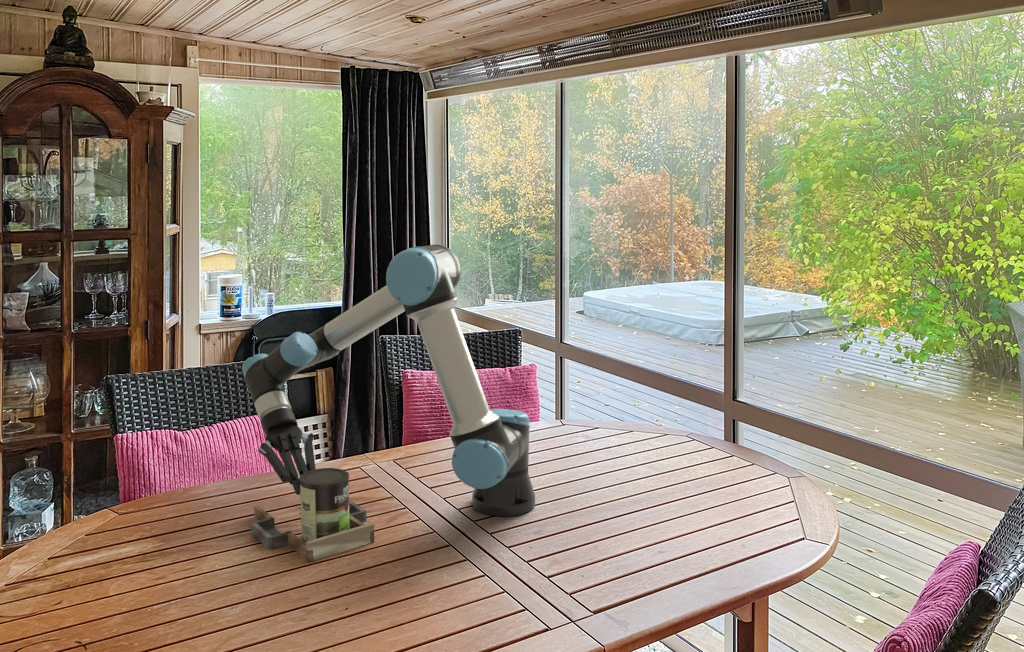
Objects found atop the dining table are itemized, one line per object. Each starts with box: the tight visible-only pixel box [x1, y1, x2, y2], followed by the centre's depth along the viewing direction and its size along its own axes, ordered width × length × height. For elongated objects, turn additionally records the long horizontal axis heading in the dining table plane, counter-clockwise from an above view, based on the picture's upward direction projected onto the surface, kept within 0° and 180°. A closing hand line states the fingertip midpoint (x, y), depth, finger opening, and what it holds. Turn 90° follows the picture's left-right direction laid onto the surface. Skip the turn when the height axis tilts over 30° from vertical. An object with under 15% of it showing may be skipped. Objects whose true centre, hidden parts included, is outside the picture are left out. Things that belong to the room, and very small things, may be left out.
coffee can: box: [298, 467, 350, 543], centre depth 166 cm, size 10×10×14 cm
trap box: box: [250, 499, 375, 563], centre depth 171 cm, size 28×23×4 cm
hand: (310, 505), depth 171 cm, fingers closed
